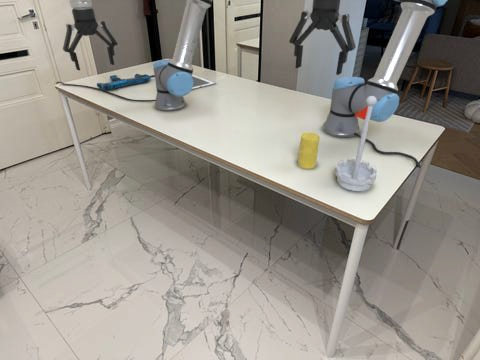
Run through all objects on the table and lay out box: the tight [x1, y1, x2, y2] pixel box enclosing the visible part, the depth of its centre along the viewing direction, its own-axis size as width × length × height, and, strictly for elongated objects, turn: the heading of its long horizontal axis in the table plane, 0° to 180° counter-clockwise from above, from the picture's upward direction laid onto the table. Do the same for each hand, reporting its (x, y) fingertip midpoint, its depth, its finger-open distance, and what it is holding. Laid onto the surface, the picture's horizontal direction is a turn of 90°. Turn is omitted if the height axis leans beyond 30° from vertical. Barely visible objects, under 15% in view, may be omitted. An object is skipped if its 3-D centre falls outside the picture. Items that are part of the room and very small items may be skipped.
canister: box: [297, 131, 320, 170], centre depth 122 cm, size 6×6×12 cm
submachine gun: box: [96, 73, 155, 91], centre depth 208 cm, size 34×4×25 cm
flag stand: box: [334, 96, 378, 192], centre depth 107 cm, size 13×13×30 cm
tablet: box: [191, 73, 216, 91], centre depth 211 cm, size 32×20×1 cm, turn 41°
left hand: (95, 66), depth 137 cm, fingers open, 13 cm apart
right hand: (317, 70), depth 107 cm, fingers open, 13 cm apart
